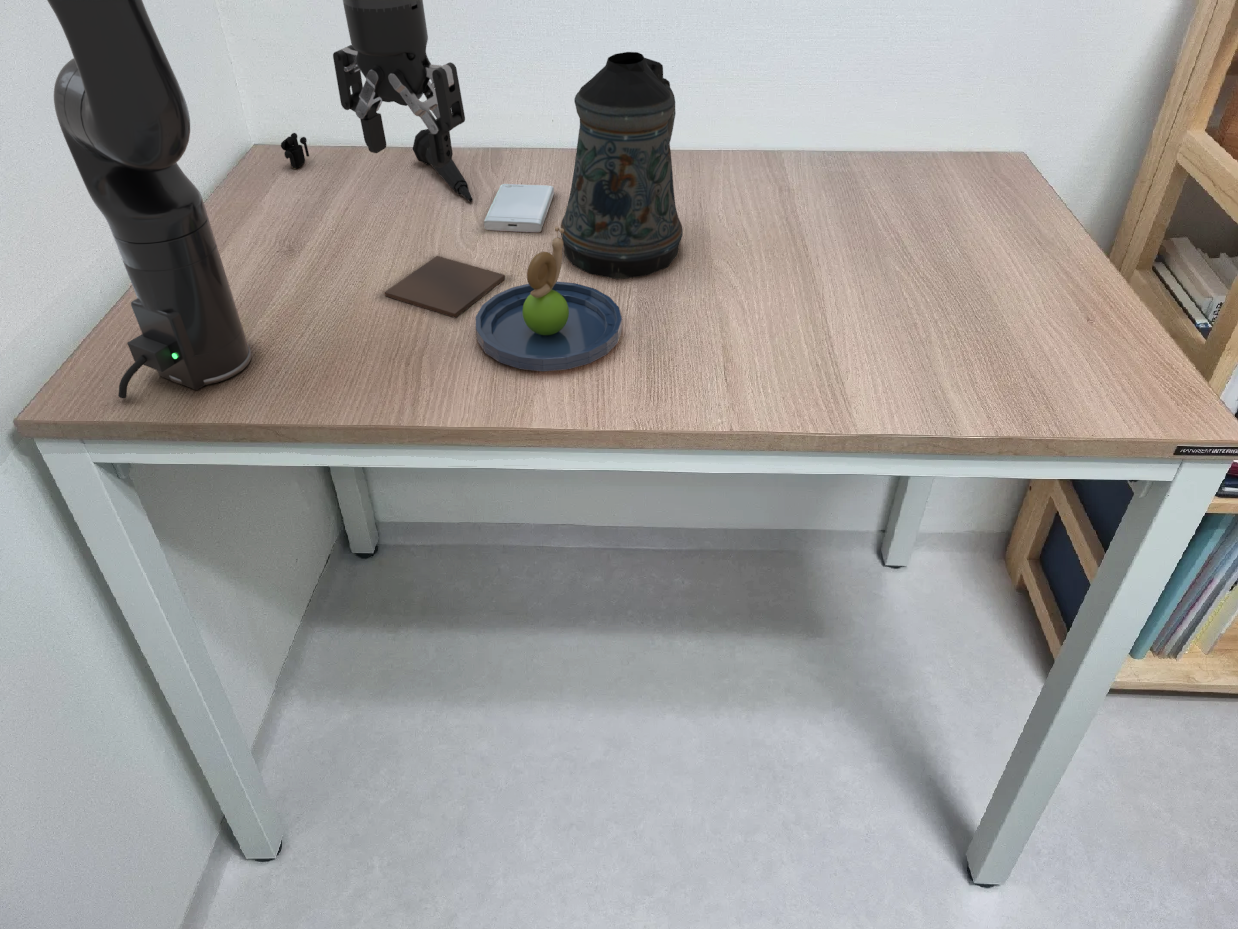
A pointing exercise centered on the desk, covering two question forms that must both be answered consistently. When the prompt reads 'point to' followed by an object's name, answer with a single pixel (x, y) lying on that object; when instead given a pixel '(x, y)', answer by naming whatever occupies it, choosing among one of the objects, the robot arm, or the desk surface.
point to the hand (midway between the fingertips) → (409, 157)
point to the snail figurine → (546, 292)
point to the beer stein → (623, 173)
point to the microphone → (446, 172)
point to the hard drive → (519, 208)
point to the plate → (574, 345)
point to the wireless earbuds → (295, 150)
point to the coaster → (445, 286)
